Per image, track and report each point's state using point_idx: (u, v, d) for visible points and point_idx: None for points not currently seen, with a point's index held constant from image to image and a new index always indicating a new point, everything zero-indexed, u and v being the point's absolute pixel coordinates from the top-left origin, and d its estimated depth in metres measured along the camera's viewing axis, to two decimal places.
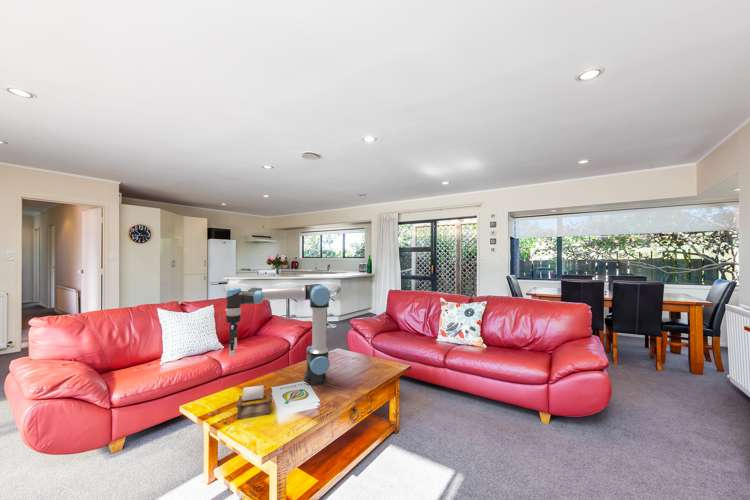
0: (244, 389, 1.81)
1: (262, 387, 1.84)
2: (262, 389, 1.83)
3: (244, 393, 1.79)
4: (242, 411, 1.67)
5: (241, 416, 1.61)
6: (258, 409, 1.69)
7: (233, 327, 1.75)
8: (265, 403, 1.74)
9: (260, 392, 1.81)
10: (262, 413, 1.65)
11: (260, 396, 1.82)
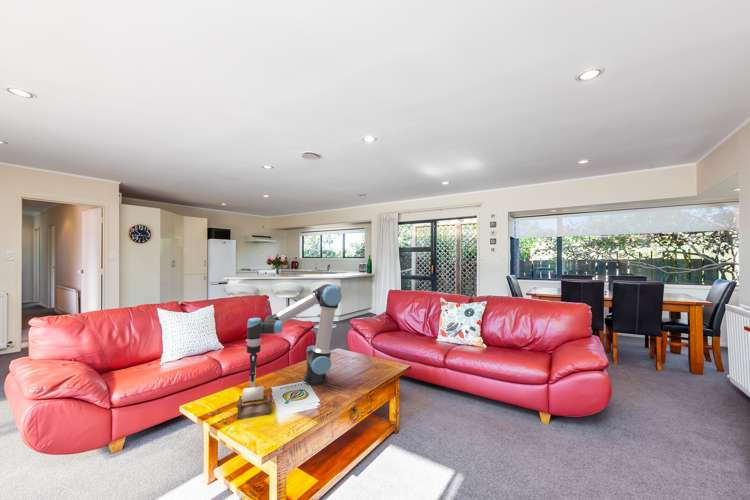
0: (244, 392, 1.79)
1: (262, 390, 1.82)
2: (262, 392, 1.81)
3: (244, 396, 1.77)
4: (242, 411, 1.67)
5: (241, 416, 1.61)
6: (258, 409, 1.69)
7: (254, 358, 1.77)
8: (265, 403, 1.74)
9: (260, 395, 1.80)
10: (262, 413, 1.65)
11: (260, 398, 1.81)
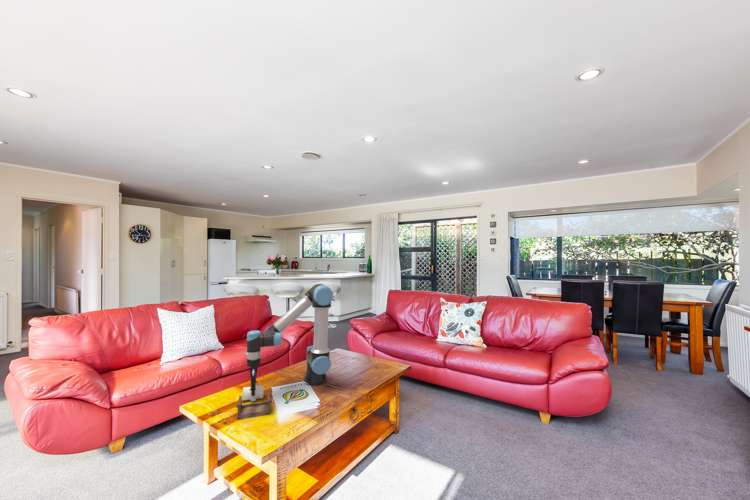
0: (244, 389, 1.81)
1: (262, 387, 1.84)
2: (262, 389, 1.83)
3: (244, 393, 1.79)
4: (242, 411, 1.67)
5: (241, 416, 1.61)
6: (258, 409, 1.69)
7: (254, 374, 1.77)
8: (265, 403, 1.74)
9: (260, 392, 1.82)
10: (262, 413, 1.65)
11: (260, 396, 1.82)
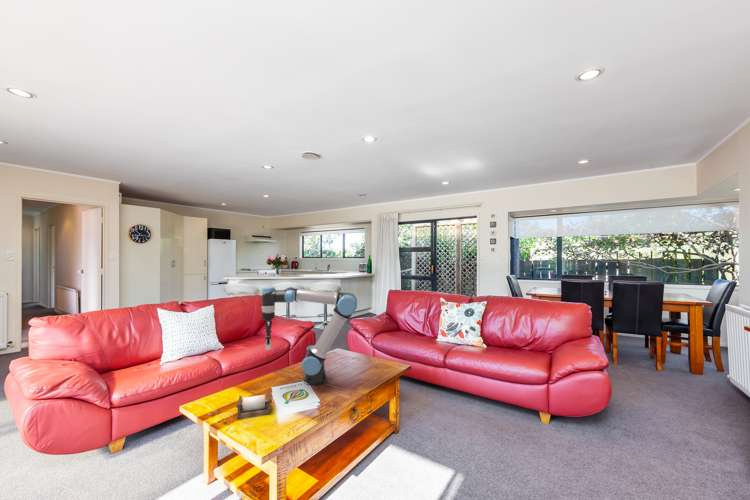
0: (244, 399, 1.66)
1: (263, 397, 1.69)
2: (264, 399, 1.68)
3: (244, 404, 1.64)
4: (242, 411, 1.67)
5: (241, 416, 1.61)
6: None
7: (269, 323, 1.89)
8: (265, 403, 1.74)
9: (261, 402, 1.67)
10: (262, 413, 1.65)
11: (261, 407, 1.67)
